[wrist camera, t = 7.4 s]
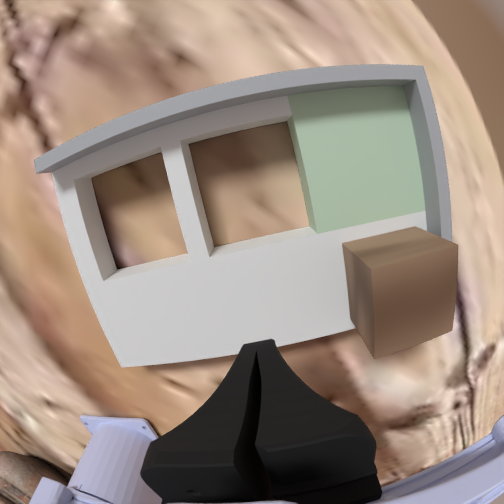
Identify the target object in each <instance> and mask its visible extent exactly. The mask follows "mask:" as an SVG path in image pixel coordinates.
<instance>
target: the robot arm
mask: <svg viewBox="0 0 504 504" xmlns="http://www.w3.org/2000/svg"><path fill="white" fill-rule="evenodd" d="M80 420H81V421H82V423H83V424H84V425H85V427H86V428H87V429H88V430H89V432H90V433H91V434H92V436H91V438H90V440H89V442H88V444H87V446H86V448H85V450H84V452H83V454H82V456H81V458H80V461H79V463H78V465H77V467H76V469H75V471H74V473H73V475H72V477H71V479H70V482H69V484H68V486H67V487H66V486H65V485H63V484H62V483H60V482H57V481H54V480H52V479H49V478H46V477H42V479H41V481H40V483H39V485H38V487H37V488H36V490H35V492H34V494H33V496H32V498H31V500H30V502H29V504H489V503H490V502H492V501H493V500H494V499H496V498H497V497H498V496H500V495H501V494H502V493H503V492H504V415H503V416H502V417H500V418H499V420H498V421H497V422H496V423H495V425H494V426H493V429H492V431H491V433H490V434H488V435H487V436H485V437H484V438H482V439H481V440H479V441H478V442H476V443H474V444H473V445H471V446H469V447H468V448H466V449H464V450H463V451H461V452H459V453H457V454H455V455H454V456H452V457H450V458H448V459H446V460H444V461H442V462H440V463H438V464H436V465H434V466H432V467H430V468H428V469H426V470H424V471H421V472H419V473H417V474H415V475H412V476H410V477H408V478H405V479H403V480H400V481H398V482H395V483H392V484H390V485H387V486H384V487H381V486H380V483H379V480H378V477H377V475H376V474H377V469H376V466H375V463H374V460H375V454H376V441H375V439H374V437H373V435H372V433H371V432H370V430H369V429H368V427H367V426H366V425H365V423H364V422H363V421H362V420H361V418H360V417H359V416H358V415H356V414H354V413H351V412H349V411H346V410H344V409H342V408H340V407H338V406H336V405H335V404H333V403H331V402H329V401H328V400H326V399H325V398H323V397H322V396H320V395H319V394H317V393H316V392H315V391H313V390H312V389H311V388H310V387H308V386H307V385H306V384H305V383H304V382H303V381H302V380H301V379H300V378H299V377H298V376H297V375H296V374H295V373H294V372H293V371H292V369H291V368H290V367H289V366H288V364H287V363H286V362H285V360H284V359H283V357H282V356H281V354H280V353H279V351H278V349H277V347H276V343H275V340H273V339H267V340H262V341H257V342H252V343H247V344H243V346H242V347H241V349H240V351H239V353H238V355H237V357H236V359H235V361H234V363H233V365H232V366H231V368H230V370H229V372H228V373H227V375H226V376H225V378H224V379H223V381H222V382H221V384H220V385H219V387H218V388H217V389H216V391H215V392H214V393H213V394H212V396H211V397H210V398H209V399H208V400H207V401H206V402H205V403H204V404H203V405H202V406H201V407H200V408H199V409H198V410H197V411H196V412H195V413H194V414H193V415H191V416H190V417H189V418H188V419H187V420H185V421H184V422H183V423H181V424H180V425H178V426H177V427H176V428H174V429H173V430H171V431H170V432H168V433H166V434H164V435H163V436H161V437H158V435H157V434H156V433H155V431H154V430H153V428H152V427H151V425H150V424H149V422H148V421H147V420H145V419H143V418H115V417H99V416H88V415H81V417H80Z"/></svg>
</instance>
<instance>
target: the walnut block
mask: <svg viewBox="0 0 504 504" xmlns="http://www.w3.org/2000/svg"><path fill="white" fill-rule="evenodd" d="M342 249H343V256H344V264H345V272H346V281H347V291H348V301H349V312H350V319H351V321H352V323H353V324H354V326H355V327H356V329H357V331H358V332H359V334H360V336H361V337H362V339H363V341H364V343H365V344H366V346H367V348H368V349H369V351H370V353H371V354H372V356H373V358H374V359H377V358H380V357H383V356H386V355H389V354H392V353H395V352H398V351H401V350H404V349H407V348H410V347H412V346H415V345H418V344H420V343H423V342H426V341H428V340H431V339H433V338H436V337H438V336H441V335H443V334H445V333H448V332H450V331H452V328H453V320H454V312H455V302H456V290H457V273H458V245H457V244H455V243H453V242H451V241H449V240H446V239H444V238H442V237H440V236H437V235H435V234H433V233H430V232H428V231H426V230H423V229H421V228H418V227H416V226H414V227H410V228H405V229H401V230H397V231H392V232H388V233H384V234H379V235H375V236H371V237H366V238H362V239H357V240H353V241H349V242H344V243H342Z"/></svg>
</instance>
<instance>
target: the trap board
mask: <svg viewBox="0 0 504 504" xmlns="http://www.w3.org/2000/svg"><path fill="white" fill-rule="evenodd" d="M285 121H287V123H288V127H289V131H290V135H291V139H292V144H293V148H294V152H295V157H296V161H297V166H298V171H299V175H300V180H301V185H302V190H303V195H304V200H305V205H306V210H307V215H308V220H309V227H304V228H299V229H295V230H290V231H285V232H281V233H276V234H272V235H267V236H262V237H258V238H253V239H249V240H244V241H240V242H235V243H231V244H226V245H222V246H217V247H214V244H213V240H212V237H211V233H210V229H209V225H208V221H207V218H206V214H205V210H204V206H203V202H202V198H201V194H200V190H199V186H198V182H197V178H196V173H195V169H194V165H193V161H192V157H191V153H190V148H189V144H190V143H194V142H197V141H201V140H205V139H208V138H212V137H216V136H220V135H224V134H228V133H232V132H237V131H241V130H245V129H250V128H255V127H259V126H264V125H269V124H275V123H280V122H285ZM160 152H162V155H163V159H164V163H165V167H166V172H167V176H168V180H169V184H170V188H171V192H172V196H173V200H174V204H175V207H176V211H177V215H178V219H179V222H180V226H181V230H182V233H183V237H184V240H185V244H186V247H187V251H188V253H187V254H182V255H178V256H174V257H169V258H165V259H161V260H156V261H152V262H148V263H143V264H139V265H135V266H131V267H127V268H122V269H118V270H117V268H116V265H115V262H114V259H113V256H112V253H111V250H110V246H109V243H108V240H107V237H106V233H105V230H104V227H103V223H102V219H101V216H100V212H99V208H98V205H97V201H96V197H95V193H94V189H93V184H92V180H91V178H92V177H94V176H97V175H99V174H102V173H104V172H107V171H109V170H112V169H115V168H117V167H120V166H123V165H125V164H128V163H131V162H134V161H137V160H139V159H142V158H145V157H148V156H151V155H154V154H157V153H160ZM34 164H35V170H36V174H38V173H49V172H52V176H53V180H54V185H55V190H56V194H57V198H58V203H59V207H60V211H61V214H62V218H63V222H64V225H65V229H66V232H67V236H68V239H69V242H70V246H71V249H72V252H73V255H74V258H75V261H76V264H77V267H78V270H79V272H80V275H81V278H82V281H83V283H84V286H85V288H86V291H87V294H88V296H89V299H90V301H91V303H92V306H93V308H94V311H95V313H96V315H97V317H98V320H99V322H100V324H101V326H102V329H103V331H104V333H105V335H106V337H107V339H108V341H109V343H110V345H111V347H112V350H113V351H114V353H115V355H116V357H117V359H118V361H119V363H120V365H121V367H133V366H146V365H157V364H167V363H177V362H185V361H194V360H201V359H209V358H215V357H222V356H229V355H235V354H238V353H239V351H240V349H241V347H242V346H243V344H247V343H252V342H257V341H262V340H267V339H273V340H275V343H276V347H279V346H283V345H288V344H293V343H297V342H302V341H306V340H311V339H315V338H319V337H323V336H327V335H331V334H335V333H339V332H343V331H347V330H351V329H354V328H356V327H355V326H354V324H353V323H352V321H351V319H350V312H349V301H348V291H347V281H346V272H345V264H344V256H343V249H342V243H344V242H349V241H353V240H357V239H362V238H366V237H371V236H375V235H379V234H384V233H388V232H392V231H397V230H401V229H405V228H410V227H414V226H416V227H418V228H421V229H423V230H426V231H428V232H430V233H433V234H435V235H437V236H440V237H442V238H444V239H446V240H449V241H451V242H452V219H451V203H450V192H449V182H448V174H447V166H446V159H445V153H444V147H443V141H442V136H441V131H440V126H439V121H438V117H437V113H436V108H435V104H434V101H433V97H432V93H431V89H430V86H429V83H428V79H427V76H426V73H425V70H424V67H423V66H415V65H388V64H371V65H343V66H328V67H317V68H308V69H299V70H292V71H285V72H278V73H272V74H266V75H260V76H255V77H250V78H245V79H240V80H236V81H231V82H227V83H223V84H218V85H215V86H211V87H207V88H203V89H199V90H196V91H192V92H189V93H186V94H182V95H179V96H176V97H173V98H170V99H167V100H164V101H161V102H158V103H155V104H152V105H149V106H146V107H144V108H141V109H138V110H136V111H133V112H131V113H128V114H126V115H123V116H121V117H118V118H116V119H113V120H111V121H109V122H107V123H104V124H102V125H100V126H98V127H95V128H93V129H91V130H89V131H87V132H85V133H83V134H81V135H79V136H77V137H75V138H73V139H71V140H69V141H67V142H65V143H63V144H61V145H59V146H57V147H56V148H54V149H52V150H50V151H48V152H47V153H45V154H43V155H42V156H40V157H38V158H36V159H35V160H34Z"/></svg>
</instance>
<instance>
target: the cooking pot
mask: <svg viewBox="0 0 504 504" xmlns="http://www.w3.org/2000/svg"><path fill="white" fill-rule="evenodd" d="M42 477H46V478H49V479H52V480H54V481H57V482H60V483H62V484H63V485H65V486H66V487H67V486H68V484H69V483H68V481H67V480H66V478H65V477H64V476H63V475H62V474H61V473H60V472H59V471H57V470H56V469H55V468H53V467H52V466H50V465H49V464H47V463H46V462H44V461H42V460H40V459H38V458H32V457H29V456H25V455H22V454H18V453H14V452H9V451H1V452H0V503H1V504H29V502H30V500H31V498H32V496H33V494H34V492H35V490H36V488H37V487H38V485H39V483H40V481H41V479H42Z"/></svg>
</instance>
